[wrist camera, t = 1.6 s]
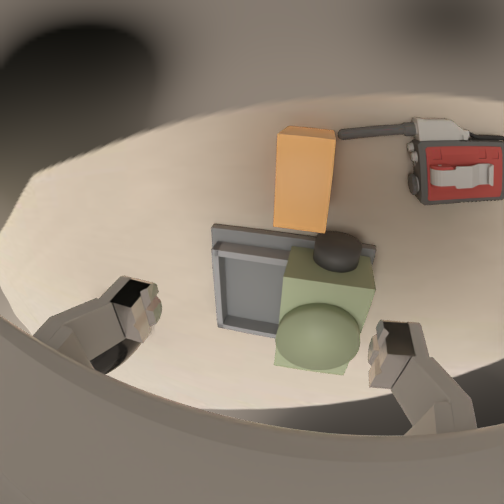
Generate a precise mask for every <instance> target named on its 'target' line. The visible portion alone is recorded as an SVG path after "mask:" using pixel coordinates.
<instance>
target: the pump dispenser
mask: <svg viewBox="0 0 504 504" xmlns="http://www.w3.org/2000/svg"><path fill="white" fill-rule="evenodd" d="M140 345H141V342H137V341H134V340H131V339H127V338H125V339H124V340H123V341H121V342H119V343H118V344H116V345H115V346H113V347H111V348H110V349H108V350H106V351H105V352H103V353H102V354H100V355H98V356H97V357H95V358H94V359H92V360H90V362H91V364H92V366H93V368H94V370H96V371H99V372H101V373H103V374H107V373H109V372H111V371H113V370H114V369H116V368H117V367H119V366H120V365H121V364H123V363H124V362H125V361H126V360H127V359H128V358H129V357H130V356H131V355H132V354H133V353H134V352H135V351H136V350H137V349H138V347H139V346H140Z"/></svg>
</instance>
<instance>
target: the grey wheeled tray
mask: <svg viewBox="0 0 504 504" xmlns="http://www.w3.org/2000/svg"><path fill="white" fill-rule="evenodd" d="M211 232H212V249H211V250H212V264H213V278H214V290H215V302H216V313H217V324H218V327H219V328H224V329H229V330H234V331H239V332H244V333H249V334H254V335H259V336H264V337H270V338H275V342H276V353H275V361H274V365H276V366H281V367H287V368H293V369H300V370H306V371H313V372H320V373H328V374H336V375H344V373H345V370H346V368H347V366H348V363H349V361H350V360H352V359H353V358H354V357H355V355H356V354H357V352H358V350H359V347H360V333H361V331H362V328H363V325H364V323H365V320H366V317H367V314H368V311H369V309H370V306H371V303H372V300H373V297H374V294H375V291H376V288H375V282H374V276H373V270H372V264H373V260H374V257H375V253H376V247H375V245H368V244H361V243H360V241H359V240H357V239H356V238H355V237H353V236H351V235H348V234H345V233H341V232H325V233H321V234H319V235H317V237H313V236H305V235H298V234H291V233H283V232H275V231H268V230H260V229H252V228H244V227H236V226H228V225H219V224H214V225H213V226H212V227H211Z"/></svg>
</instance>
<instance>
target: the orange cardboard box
mask: <svg viewBox="0 0 504 504" xmlns="http://www.w3.org/2000/svg"><path fill="white" fill-rule="evenodd" d="M335 145H336V138H335V133H334V130H326V129H317V128H307V127H296V126H288V127H286V128H285V129H284V130H282V131H281V132H279V133H278V134H277V155H276V179H275V201H274V222H273V227H281V228H288V229H296V230H303V231H311V232H318V233H325V231H326V224H327V216H328V209H329V201H330V193H331V184H332V176H333V166H334V156H335Z"/></svg>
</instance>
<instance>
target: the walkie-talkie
mask: <svg viewBox="0 0 504 504" xmlns="http://www.w3.org/2000/svg"><path fill="white" fill-rule="evenodd" d="M401 134H404V135H405V136H414V138H415V139H413V140H412V141H411V142H410V143H407V149H408V151H411V152H412V153H411V160H412V161H413V165H414V174H410V175H409V178H408V183H409V189H410V192H411V193H412V194H413V195H414V194H415V196H416V197H417V198H418V199H419V201H420V202H421V203H422V204H424V205H434V204H448V203H461V202H469V201H471V202H473V201H475V202H477V201H485V200H486V201H488V200H490V201H492V200H494V201H496V200H503V199H504V143H503V142H502V141H499V140H504V137H503V136H489V135H474V134H473V133H471V132H469V131H468V130H465V129H461V128H460V127H459V126H458V125H457V124H455V123H454V122H453V121H452V120H449V119H445V118H429V119H423V118H419V117H414V118H412V122H411V123H403V124H401V125H384V126H371V127H360V128H351V129H342V130H340V131H339V132H338V137H339V138H340V139H342V140H346V139H355V138H364V137H375V136H387V135H401ZM470 136H471V137H472V138H471V137H470ZM468 137H470V138H468Z"/></svg>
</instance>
